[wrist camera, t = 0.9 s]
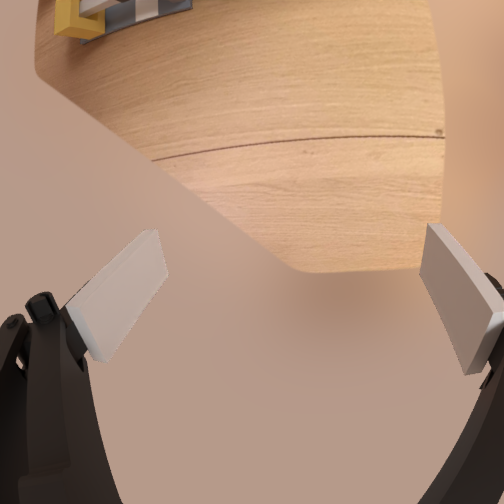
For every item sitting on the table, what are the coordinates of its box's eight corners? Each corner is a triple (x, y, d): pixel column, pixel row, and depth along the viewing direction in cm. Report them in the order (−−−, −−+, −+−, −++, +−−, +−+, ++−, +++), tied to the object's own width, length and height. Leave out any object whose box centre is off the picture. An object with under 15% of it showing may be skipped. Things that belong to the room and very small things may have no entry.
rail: (83, 9, 30) (54, 2, 23) (190, -30, 26) (170, -49, 20) (83, 44, 33) (52, 41, 27) (192, 8, 30) (170, -8, 23)
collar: (90, -2, 27) (57, -12, 20) (105, -9, 27) (72, -21, 20) (89, 39, 31) (53, 34, 24) (105, 33, 30) (69, 26, 23)
